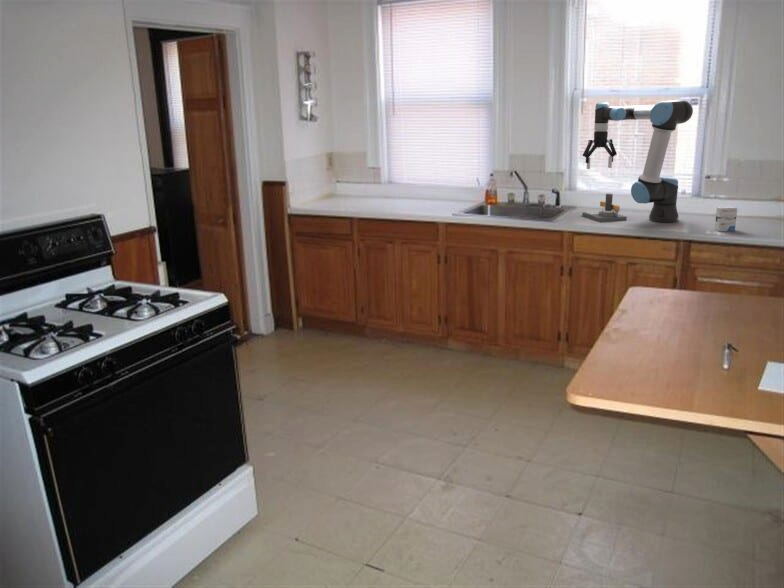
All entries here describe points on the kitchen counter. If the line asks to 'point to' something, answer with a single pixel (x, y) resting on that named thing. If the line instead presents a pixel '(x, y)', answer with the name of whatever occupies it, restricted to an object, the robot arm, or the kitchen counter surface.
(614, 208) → the clip
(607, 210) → the plug
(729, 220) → the ink box
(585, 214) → the socket board
